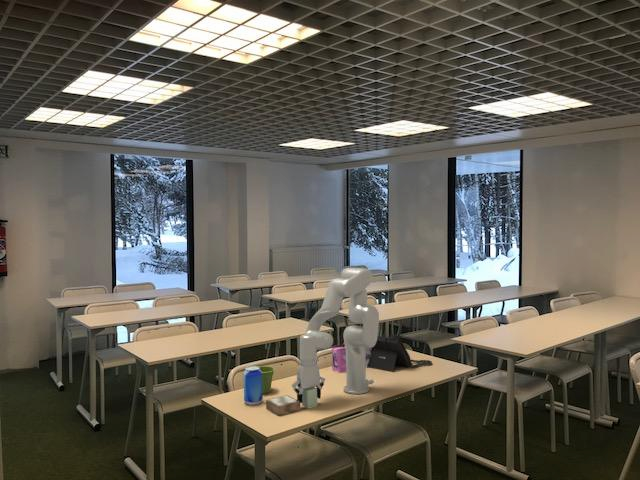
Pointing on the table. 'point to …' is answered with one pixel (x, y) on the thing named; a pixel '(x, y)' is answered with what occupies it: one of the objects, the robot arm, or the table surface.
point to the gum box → (344, 357)
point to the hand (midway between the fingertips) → (309, 400)
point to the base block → (283, 405)
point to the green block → (309, 397)
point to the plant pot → (266, 378)
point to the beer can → (253, 385)
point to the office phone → (391, 354)
